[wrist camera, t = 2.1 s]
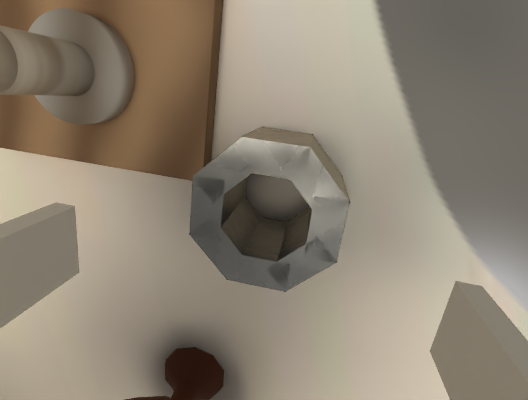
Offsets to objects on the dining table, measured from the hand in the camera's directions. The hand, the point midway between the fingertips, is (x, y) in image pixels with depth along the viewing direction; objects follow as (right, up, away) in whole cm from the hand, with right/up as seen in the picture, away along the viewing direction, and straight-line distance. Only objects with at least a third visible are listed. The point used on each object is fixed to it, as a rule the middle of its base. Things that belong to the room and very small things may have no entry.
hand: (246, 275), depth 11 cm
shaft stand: (-10, +11, +11) cm, 19 cm away
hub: (+2, +3, +11) cm, 12 cm away
